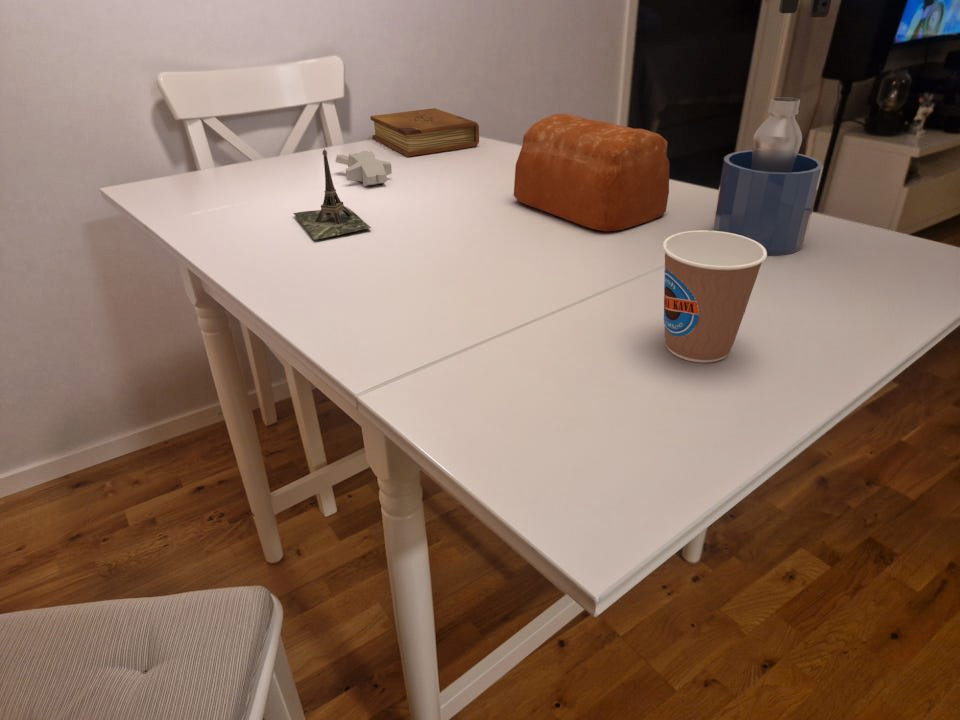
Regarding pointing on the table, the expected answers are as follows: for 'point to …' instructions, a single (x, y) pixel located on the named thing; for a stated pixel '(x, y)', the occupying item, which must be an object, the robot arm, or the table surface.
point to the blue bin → (767, 202)
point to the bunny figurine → (365, 168)
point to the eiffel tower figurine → (330, 213)
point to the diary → (425, 131)
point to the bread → (593, 172)
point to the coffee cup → (707, 291)
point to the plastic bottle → (777, 138)
